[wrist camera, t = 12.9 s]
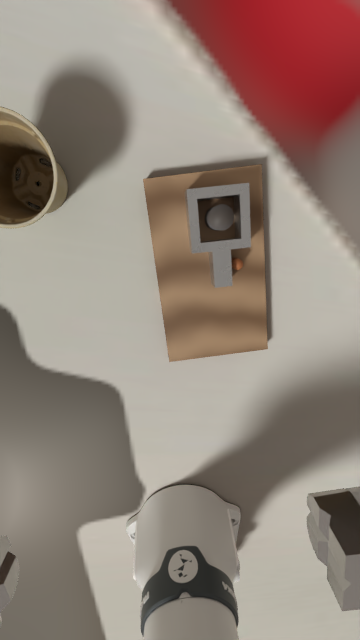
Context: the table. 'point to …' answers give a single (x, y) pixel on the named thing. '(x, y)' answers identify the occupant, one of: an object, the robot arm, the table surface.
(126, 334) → the table surface
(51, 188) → the flower pot
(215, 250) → the grey square frame
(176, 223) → the board
